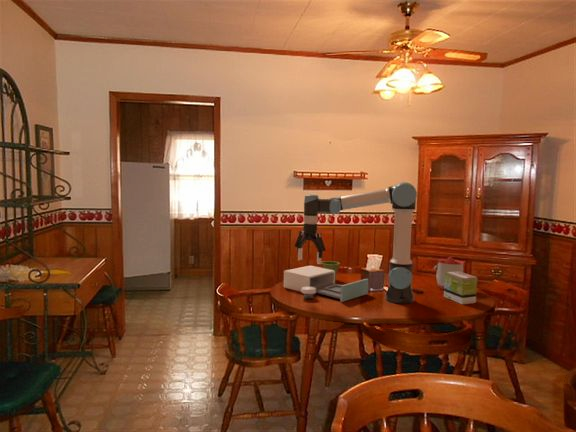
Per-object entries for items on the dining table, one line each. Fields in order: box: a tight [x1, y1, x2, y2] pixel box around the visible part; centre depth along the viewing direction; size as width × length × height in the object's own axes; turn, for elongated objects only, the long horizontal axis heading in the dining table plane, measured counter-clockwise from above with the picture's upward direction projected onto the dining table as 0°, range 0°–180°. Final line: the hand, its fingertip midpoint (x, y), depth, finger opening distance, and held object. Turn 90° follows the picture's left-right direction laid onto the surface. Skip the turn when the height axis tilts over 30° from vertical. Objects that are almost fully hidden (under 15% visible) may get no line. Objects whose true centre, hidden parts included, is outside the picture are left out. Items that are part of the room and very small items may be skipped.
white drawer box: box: [283, 265, 336, 293], centre depth 270 cm, size 20×24×10 cm
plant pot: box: [321, 260, 341, 280], centre depth 290 cm, size 12×12×11 cm
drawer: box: [315, 278, 369, 303], centre depth 255 cm, size 24×24×9 cm
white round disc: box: [301, 287, 317, 295], centre depth 246 cm, size 8×8×2 cm
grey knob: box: [303, 293, 314, 301], centre depth 246 cm, size 5×5×4 cm
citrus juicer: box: [433, 256, 465, 291], centre depth 273 cm, size 16×17×20 cm
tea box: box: [443, 271, 478, 305], centre depth 248 cm, size 15×10×15 cm
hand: (309, 261), depth 244 cm, fingers open, 13 cm apart
